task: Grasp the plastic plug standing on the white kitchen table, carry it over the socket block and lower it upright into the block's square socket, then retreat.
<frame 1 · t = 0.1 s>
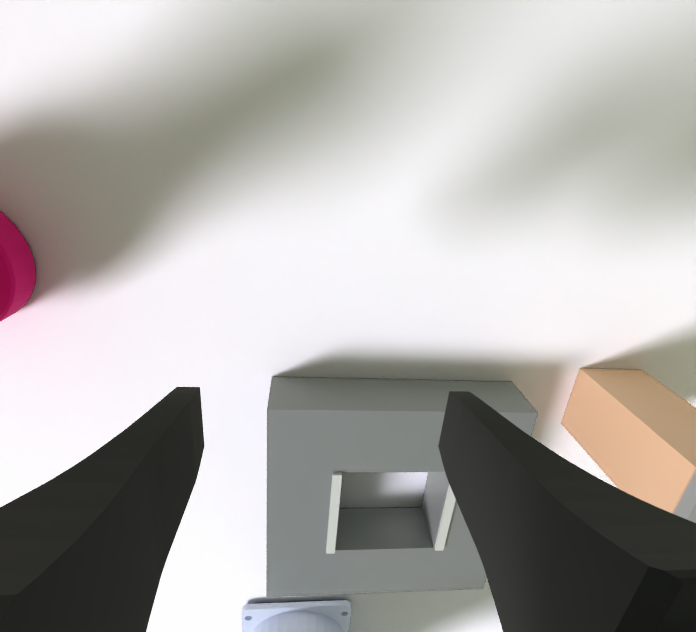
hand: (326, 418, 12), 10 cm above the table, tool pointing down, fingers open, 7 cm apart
socket block: (382, 473, 26), on the table
plug: (600, 397, 26), on the table
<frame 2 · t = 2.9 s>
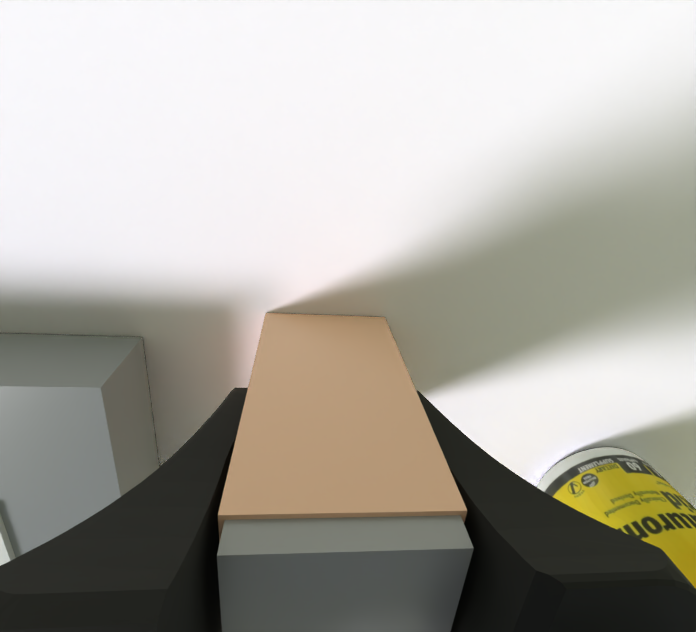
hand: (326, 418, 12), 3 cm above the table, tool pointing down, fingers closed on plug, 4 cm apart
plug: (323, 366, 15), on the table, touching gripper
supplement bottle: (583, 486, 19), on the table
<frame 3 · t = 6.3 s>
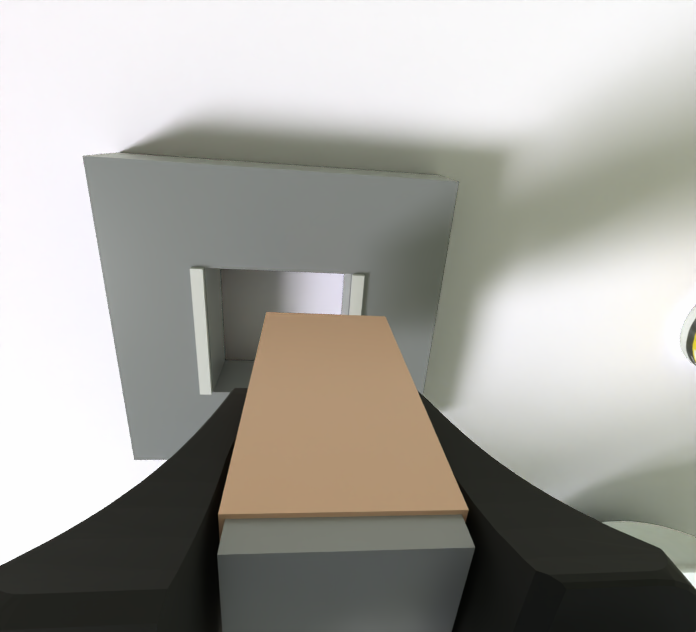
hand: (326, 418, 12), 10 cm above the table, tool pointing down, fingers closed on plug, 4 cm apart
socket block: (282, 309, 21), on the table
plug: (323, 366, 15), point 7 cm above the table, touching gripper
serving bowl: (563, 576, 32), on the table
when the fingers open (4 cm above the table, at t = 9.9 s): plug drops 2 cm, resting in socket block.
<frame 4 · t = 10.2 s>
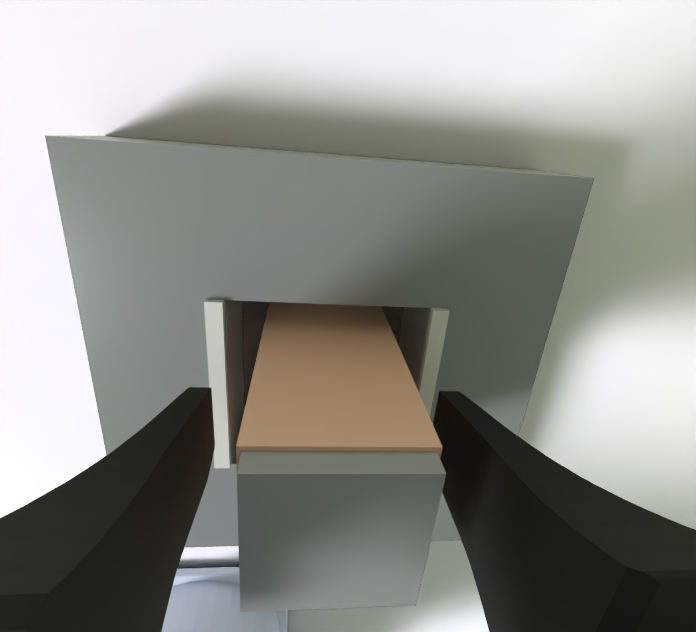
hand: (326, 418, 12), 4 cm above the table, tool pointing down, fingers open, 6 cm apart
socket block: (322, 347, 16), on the table
plug: (322, 346, 16), resting in socket block
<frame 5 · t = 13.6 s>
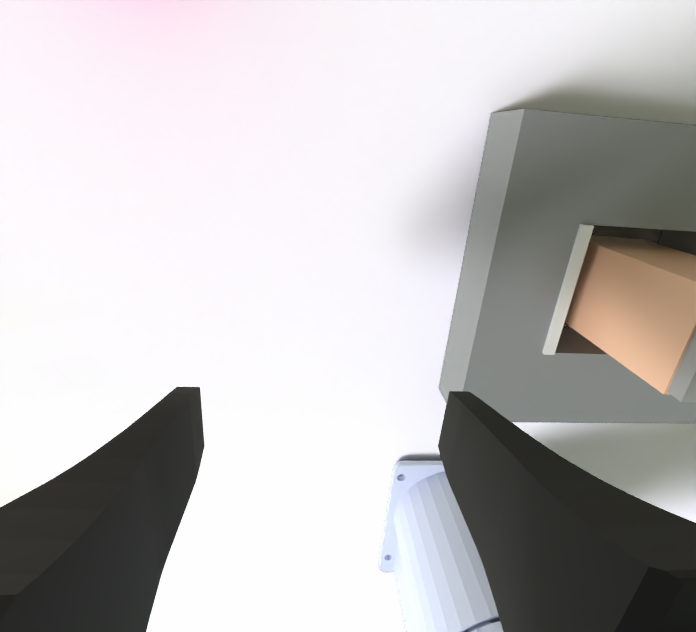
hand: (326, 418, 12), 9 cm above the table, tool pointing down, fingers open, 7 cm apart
socket block: (591, 275, 21), on the table
plug: (591, 274, 21), resting in socket block
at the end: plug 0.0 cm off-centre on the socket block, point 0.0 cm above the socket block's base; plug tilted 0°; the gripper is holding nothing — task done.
